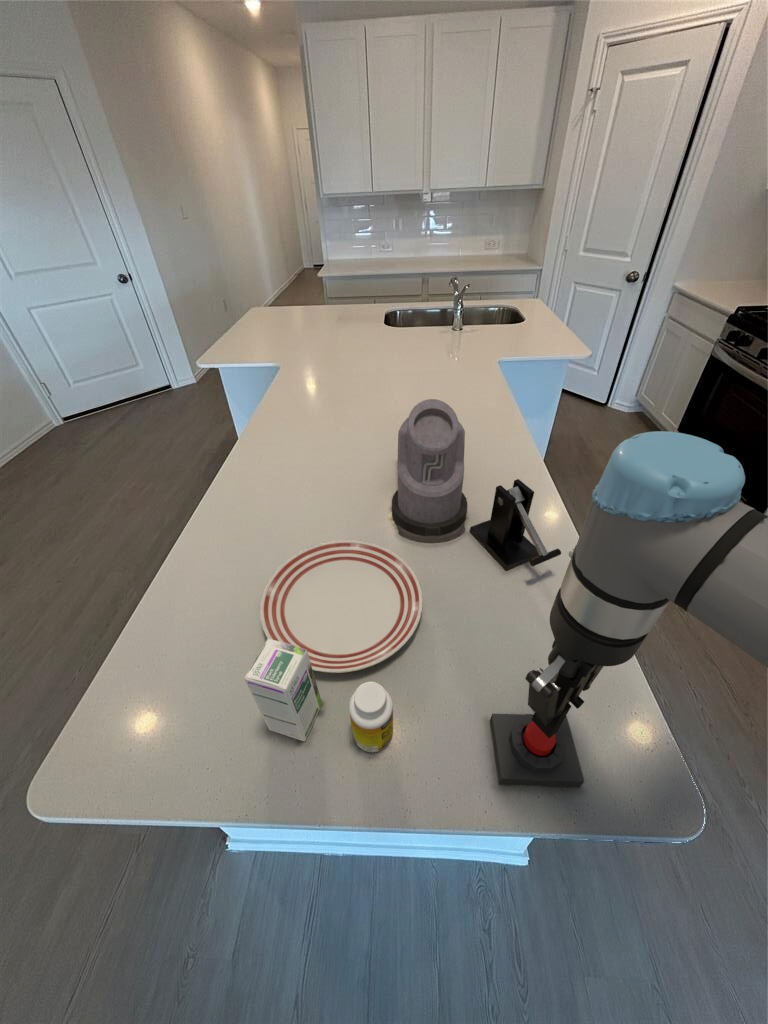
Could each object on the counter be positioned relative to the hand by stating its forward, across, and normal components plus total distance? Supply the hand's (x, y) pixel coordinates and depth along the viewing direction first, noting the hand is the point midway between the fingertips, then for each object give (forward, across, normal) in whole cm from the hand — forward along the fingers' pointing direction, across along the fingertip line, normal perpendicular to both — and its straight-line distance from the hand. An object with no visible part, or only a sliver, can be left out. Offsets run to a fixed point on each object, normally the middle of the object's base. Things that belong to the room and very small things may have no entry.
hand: (544, 725), depth 53 cm
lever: (0, -24, -26) cm, 35 cm away
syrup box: (+8, +24, -22) cm, 34 cm away
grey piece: (+8, -22, -51) cm, 56 cm away
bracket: (+8, -25, -30) cm, 40 cm away
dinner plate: (+8, +9, -35) cm, 37 cm away
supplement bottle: (+8, +16, -14) cm, 23 cm away
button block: (+8, 0, 0) cm, 8 cm away
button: (+4, 0, 0) cm, 4 cm away
